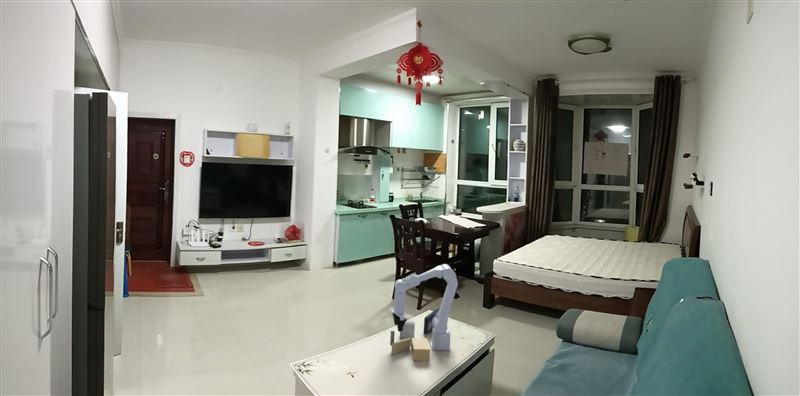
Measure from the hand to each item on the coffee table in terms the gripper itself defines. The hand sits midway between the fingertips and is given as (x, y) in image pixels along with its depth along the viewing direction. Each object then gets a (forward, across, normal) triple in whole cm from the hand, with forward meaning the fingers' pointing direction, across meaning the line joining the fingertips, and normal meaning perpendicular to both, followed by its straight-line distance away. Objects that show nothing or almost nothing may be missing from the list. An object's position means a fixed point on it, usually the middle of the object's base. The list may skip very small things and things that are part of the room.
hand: (398, 328), depth 209 cm
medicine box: (+11, -11, +8) cm, 17 cm away
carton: (+10, +10, +9) cm, 17 cm away
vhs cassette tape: (+11, -19, +26) cm, 34 cm away
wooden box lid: (+10, +3, 0) cm, 11 cm away
